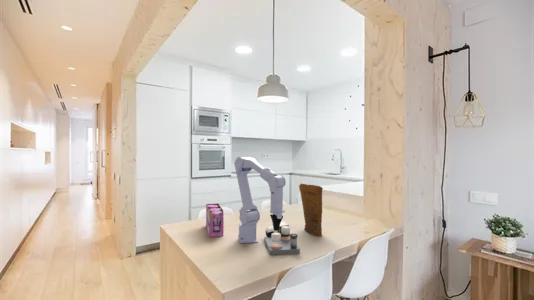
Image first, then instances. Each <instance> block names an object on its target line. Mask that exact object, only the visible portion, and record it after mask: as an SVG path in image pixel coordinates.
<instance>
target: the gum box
mask: <svg viewBox="0 0 534 300" xmlns="http://www.w3.org/2000/svg"><path fill="white" fill-rule="evenodd" d="M205 205H206V207H205V211H206V212H205V218H206V219H205V220H206V221H205V227H206V230H207V234H208V236H209V238H214V237H224V222H225V221H224V218H225V217H224V210H223V208H222V207H221V206H220V204H219V203H207V204H205Z"/></svg>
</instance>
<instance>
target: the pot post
mask: <svg viewBox="0 0 534 300" xmlns="http://www.w3.org/2000/svg"><path fill="white" fill-rule="evenodd" d="M297 246H298V234H296V233H290V248H292V249H296V248H297Z"/></svg>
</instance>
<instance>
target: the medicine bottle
mask: <svg viewBox="0 0 534 300" xmlns="http://www.w3.org/2000/svg"><path fill="white" fill-rule="evenodd" d="M282 226H288V227H290V224H288V223H287V222H286V221H281V223H280V227H279V230H278V231H274V228H273V225H271V226H269V227H268V226H267V227H266V228H265V237H271V235H272V233H280V234H281V237H284V236H290V234H291V233H290V234H288V235H284V234H282V233H281V227H282Z"/></svg>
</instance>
